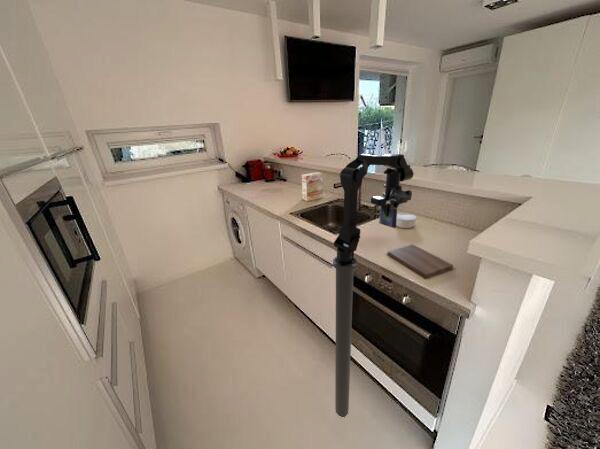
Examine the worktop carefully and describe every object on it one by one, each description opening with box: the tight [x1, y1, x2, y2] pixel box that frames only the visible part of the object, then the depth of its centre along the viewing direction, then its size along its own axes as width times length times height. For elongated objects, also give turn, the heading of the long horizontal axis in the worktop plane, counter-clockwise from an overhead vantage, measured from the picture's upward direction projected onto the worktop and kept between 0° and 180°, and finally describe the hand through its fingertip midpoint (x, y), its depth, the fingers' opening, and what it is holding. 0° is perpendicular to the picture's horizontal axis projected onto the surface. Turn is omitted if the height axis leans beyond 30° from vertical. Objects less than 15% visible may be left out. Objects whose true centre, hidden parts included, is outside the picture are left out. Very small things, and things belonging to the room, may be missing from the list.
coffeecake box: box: [301, 171, 324, 202], centre depth 189 cm, size 15×7×20 cm, turn 120°
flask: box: [378, 203, 398, 229], centre depth 114 cm, size 9×3×11 cm, turn 32°
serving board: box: [387, 244, 454, 279], centre depth 100 cm, size 14×20×2 cm
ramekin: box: [396, 212, 417, 229], centre depth 134 cm, size 11×11×5 cm
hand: (389, 216), depth 114 cm, fingers closed on flask, 3 cm apart
